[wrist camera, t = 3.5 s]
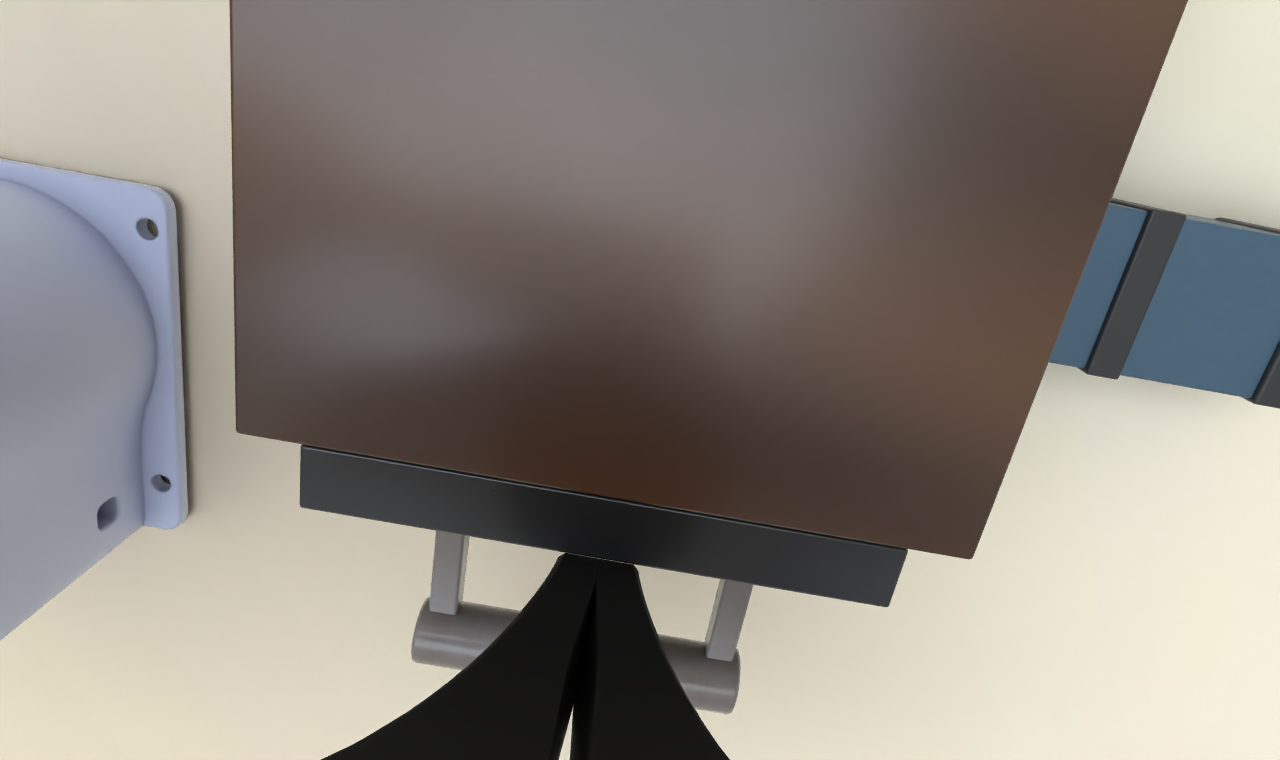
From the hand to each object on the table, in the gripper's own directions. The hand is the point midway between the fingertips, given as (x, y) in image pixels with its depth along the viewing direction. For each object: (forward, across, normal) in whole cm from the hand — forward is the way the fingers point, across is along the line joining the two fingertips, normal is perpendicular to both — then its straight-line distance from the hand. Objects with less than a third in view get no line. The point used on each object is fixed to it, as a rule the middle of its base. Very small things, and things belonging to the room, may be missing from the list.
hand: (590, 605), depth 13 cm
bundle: (+8, -11, -6) cm, 15 cm away
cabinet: (+7, 0, -9) cm, 12 cm away
